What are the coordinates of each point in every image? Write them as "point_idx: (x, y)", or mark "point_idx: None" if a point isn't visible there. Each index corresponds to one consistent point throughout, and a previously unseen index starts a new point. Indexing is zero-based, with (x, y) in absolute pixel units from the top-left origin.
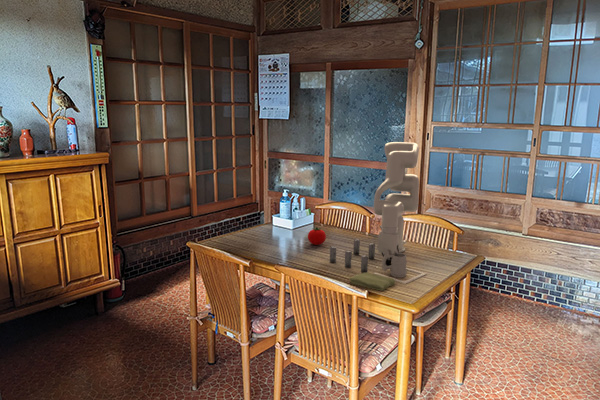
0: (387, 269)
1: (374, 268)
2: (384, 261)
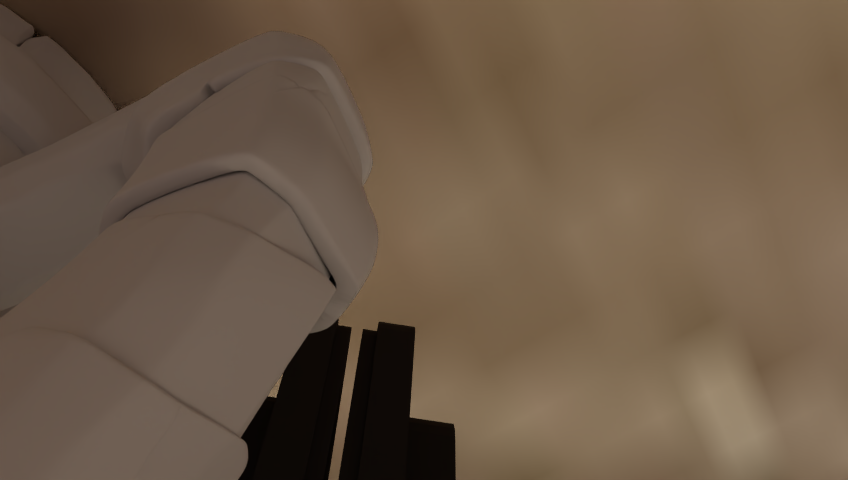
0: (138, 101)
1: (755, 283)
2: (132, 209)
